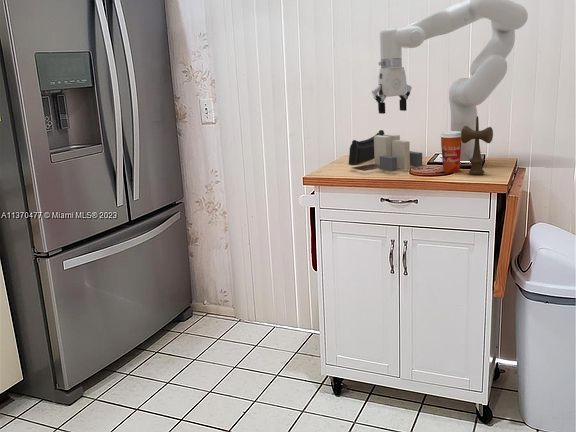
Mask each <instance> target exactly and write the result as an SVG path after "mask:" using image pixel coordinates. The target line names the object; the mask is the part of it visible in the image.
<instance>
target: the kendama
mask: <svg viewBox="0 0 576 432" xmlns="http://www.w3.org/2000/svg"><path fill="white" fill-rule="evenodd" d="M479 124H480V122H479V115H477V117H476V131H474V130H472V129H471V128H469V127H468V126H464V127H463V129H462V131H461V140H462V142H463V143H467V142H468V141H470V140H472V139H475V145H474V152H473V157H472V159H471V160H470V162H471V165H470V169H469V171H468V174H469V175H473V176H479V175H480V176H481V175H484V174H485V170H484V169H483V164H484V162H485V160H484V158H483V159H482V157H481V156H482V153H481V146H480V145H481V144H480V140H481V141H483V142H484V143H486V144H491V143H492V141H493V138H494V131H493V130H494V129H493V127H492V126H488V127H486V128H484V129H482V130H480V125H479Z"/></svg>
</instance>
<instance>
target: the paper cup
mask: <svg viewBox="0 0 576 432" xmlns="http://www.w3.org/2000/svg"><path fill="white" fill-rule="evenodd" d="M439 137H440V144H441V145H440V146H441V147H440V148H441V159H442V162H441V163H442V171H443V173H447V174H455V173H459V172H460V168H461V166H460V164H461V163H460V155H461V132H459V131H451V130H448V131H447V130H446V131H441V133H440V136H439Z"/></svg>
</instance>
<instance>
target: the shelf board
mask: <svg viewBox="0 0 576 432" xmlns="http://www.w3.org/2000/svg"><path fill="white" fill-rule="evenodd" d="M351 169H353V170H357V171H363V172H367V171H371V170H377V169H378V170H379V169H380V165H376V164H375V163H370V164H364V165H358V166H354V167H353V166H352V167H351Z"/></svg>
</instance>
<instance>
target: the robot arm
mask: <svg viewBox="0 0 576 432" xmlns="http://www.w3.org/2000/svg"><path fill="white" fill-rule="evenodd" d="M528 18H529V14H528V10H527V9H526V7H525V6H524V5H523V4H520V3H519V2H515V1H514V0H460V1H459V2H456V3H455V4H452V5H450V6H447V7H445V8H442V9H441V10H438V11H437V12H435V13H433V14H431V15H427V16H426V17H424V18H421V19H420V20H417V21H415V22H413V23H409V24H408V25H406V26H403V27H401V28H399V27H389V28H383V29H381V30H380V31H379V55H380V56H379V57H380V61H378V66H380V68H379V70H378V79H377V86H376V87H375V88H374V89H372V90H371V94H372V96H373V99H374V100H375V101H376V103H377V109H378V114H383V115H385V114H386V102H384V101H386V98H387V97H388V98H389V97H399V98H400V99H399V101H398V103H399V111H401V112H405V111H407V100H409V96H410V95H411V91H412V88H413V87H412V86H411V85H410V84H408V82H407V75H406V71H405V67H404V66H403V57H402V55H403V54H402V49H414V48H415V49H416V48H418V47H420V46H421V45H422V44H423V43H424V42H425V41H427V40H429V39H432V38H435V37H438V36H443V35H448V34H450V33H452V32H455V31H457V30H460V29H461V28H463V27H466V26H468V25H470V24H473V23H475V22H477V21H480V20H482V19H487V20H489V21H490V24H491V31H492V32H491V37H490V40H488V42H487V44H486V45H485V46H484V47H483V48H482V50H481V51H480V53H479V54H478V55H476V58H475V59H473V61H472V63H471V64H470V67H469V73H470V75H471V76H470V77H460V78H458V79H455V80H454V81H453V82H452V83H451V85H450V86H449V90H448V101H449V108H450V109H449V110H450V131H459V132H461V131H462V129H463V127H464V126H468V127H469V128H471V129H472V130H474V131H476V117H477V116H478V109H477V106H479V105H481V104H483V103H484V102H485V101H486V100H487V99H488V98H489V96H490V95H491V94H492V93H493V92H494V91H495V89H496V88H497V87H498V86H499V84H500V83H501V82H502V80H503V79H504V78H505V77H506V74H507V71H508V62H507V60H506V59H507V57H508V56H509V55H510V53H511V52H512V50H513V48H514V46H515V41H516V31H515V30H519V29H521V28H523V27H524V26H525V25H526V24H527V22H528ZM474 145H475V139H472V140H470V141H468V142H467V143H463V142H462V140H461V155H460V161H470V160H471V159H472V157H473V152H474ZM481 157H482V159H483V160H484V155H481ZM468 166H470V167H471V163H469V164H461V163H460V167H468Z"/></svg>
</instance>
